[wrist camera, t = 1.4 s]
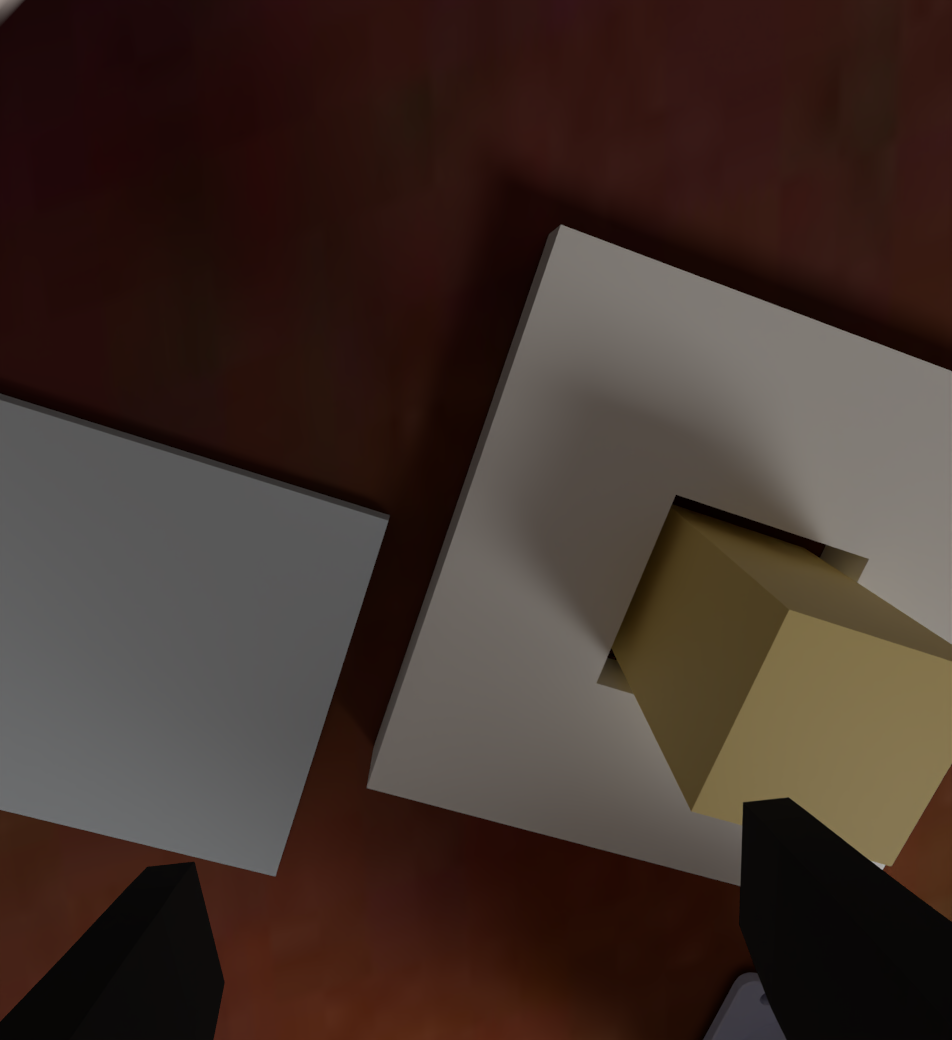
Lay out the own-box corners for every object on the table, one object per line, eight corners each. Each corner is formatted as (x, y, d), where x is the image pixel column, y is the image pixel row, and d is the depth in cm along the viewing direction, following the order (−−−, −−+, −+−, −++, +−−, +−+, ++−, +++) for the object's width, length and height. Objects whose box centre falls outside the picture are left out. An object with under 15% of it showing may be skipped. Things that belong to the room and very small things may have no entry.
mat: (390, 515, 18) (388, 520, 18) (279, 863, 21) (275, 876, 20) (-65, 373, 17) (-80, 375, 16) (-120, 765, 19) (-134, 777, 19)
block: (804, 547, 19) (1002, 677, 12) (740, 679, 20) (891, 866, 13) (664, 501, 18) (789, 609, 12) (606, 638, 19) (691, 811, 13)
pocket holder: (1067, 427, 18) (1132, 438, 16) (823, 868, 22) (855, 916, 20) (548, 234, 16) (560, 224, 15) (373, 746, 20) (366, 787, 18)
